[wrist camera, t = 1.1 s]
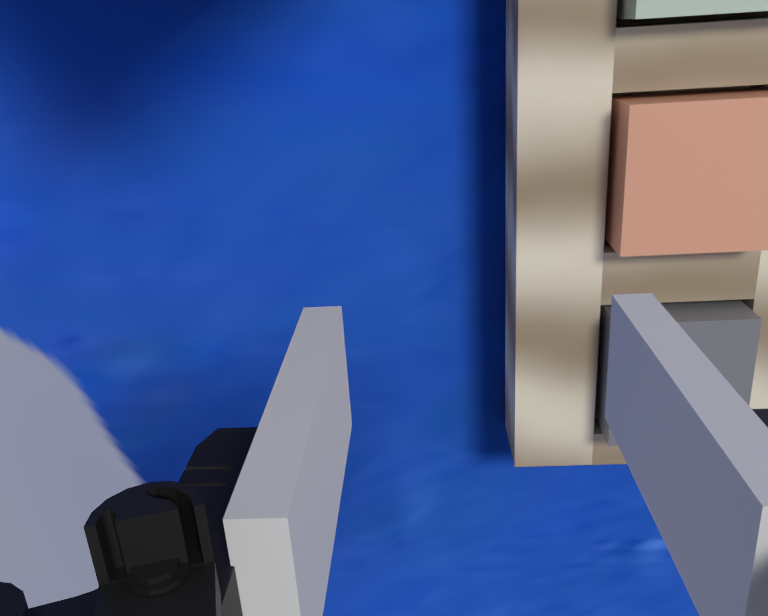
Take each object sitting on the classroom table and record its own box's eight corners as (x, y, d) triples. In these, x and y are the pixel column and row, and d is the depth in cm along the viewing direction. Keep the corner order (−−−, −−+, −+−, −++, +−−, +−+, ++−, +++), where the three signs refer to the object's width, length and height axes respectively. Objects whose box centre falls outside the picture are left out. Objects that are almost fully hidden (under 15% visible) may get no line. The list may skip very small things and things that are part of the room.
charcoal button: (598, 298, 33) (616, 324, 31) (732, 293, 33) (762, 318, 30) (592, 412, 36) (608, 446, 33) (717, 408, 35) (743, 442, 32)
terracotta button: (609, 96, 30) (630, 104, 27) (758, 88, 30) (794, 95, 27) (602, 236, 32) (620, 256, 29) (740, 229, 32) (771, 250, 29)
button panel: (506, -193, 28) (521, -227, 24) (874, -223, 28) (952, -264, 24) (505, 423, 39) (515, 470, 35) (773, 415, 38) (815, 462, 34)
